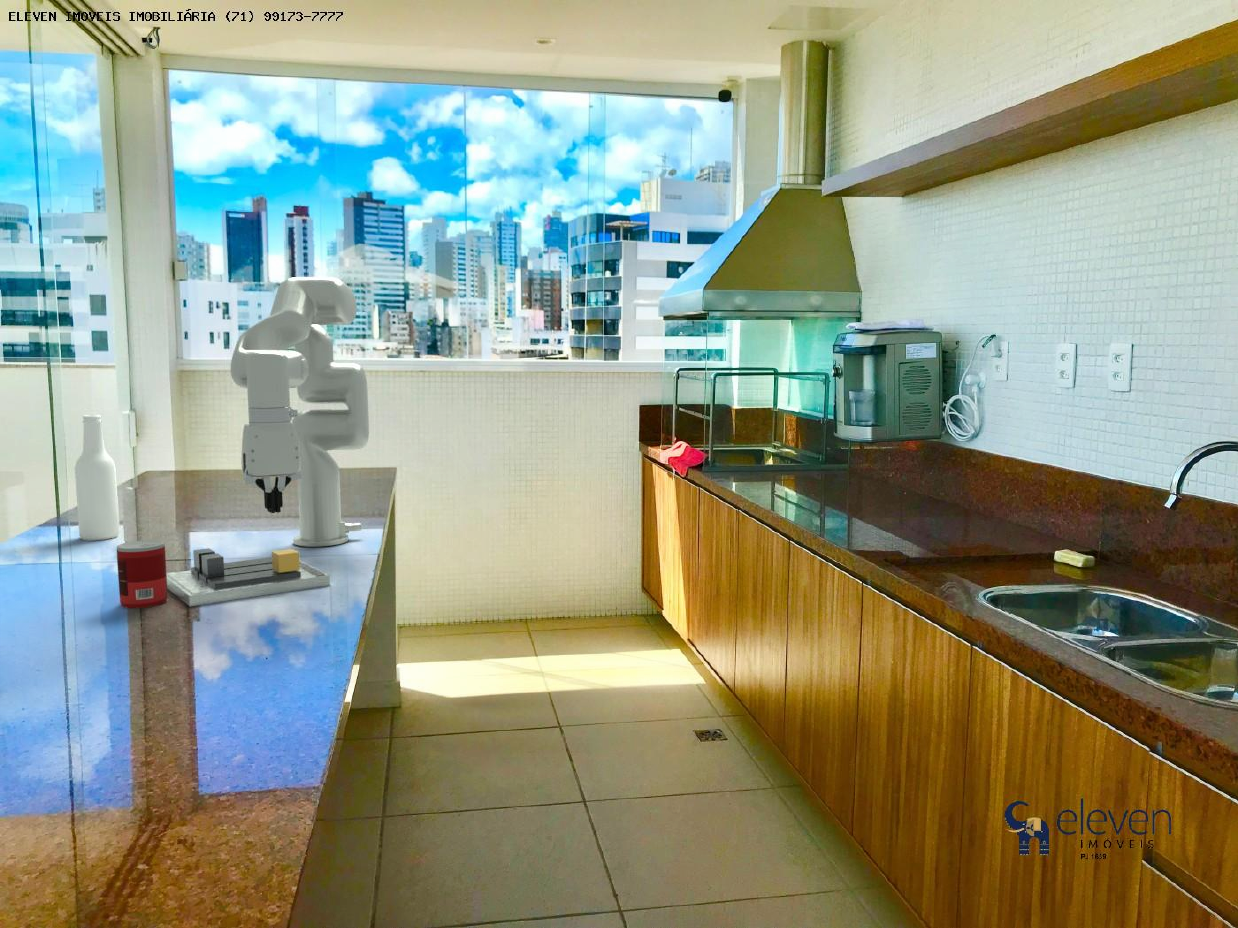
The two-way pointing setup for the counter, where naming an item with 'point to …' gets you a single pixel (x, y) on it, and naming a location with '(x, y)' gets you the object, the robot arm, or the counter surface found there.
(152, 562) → the canned food
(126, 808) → the counter surface
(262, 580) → the panel
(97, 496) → the alcohol
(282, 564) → the mustard yellow cube
